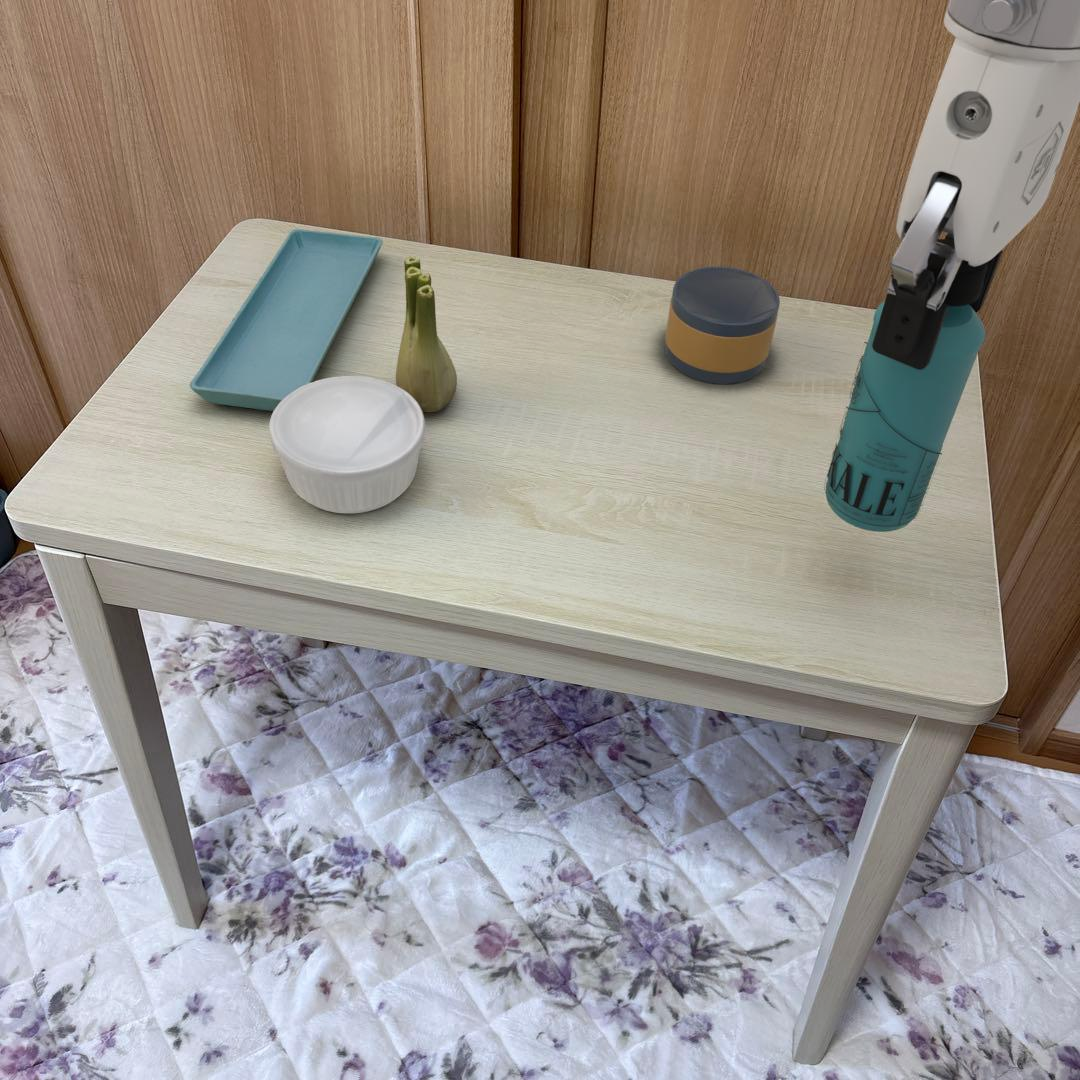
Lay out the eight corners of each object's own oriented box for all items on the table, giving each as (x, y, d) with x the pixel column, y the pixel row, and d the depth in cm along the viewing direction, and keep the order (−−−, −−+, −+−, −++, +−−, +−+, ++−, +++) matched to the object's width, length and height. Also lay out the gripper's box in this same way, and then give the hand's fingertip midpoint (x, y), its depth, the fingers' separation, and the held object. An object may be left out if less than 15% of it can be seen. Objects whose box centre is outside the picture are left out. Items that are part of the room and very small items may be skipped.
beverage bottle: (906, 489, 74) (1001, 225, 60) (921, 557, 69) (1028, 288, 55) (812, 481, 74) (884, 217, 60) (820, 548, 69) (901, 278, 55)
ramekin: (433, 520, 77) (430, 466, 74) (277, 532, 76) (266, 478, 72) (421, 423, 85) (418, 370, 81) (279, 432, 83) (270, 379, 80)
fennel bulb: (407, 375, 89) (398, 248, 81) (463, 382, 89) (461, 255, 80) (389, 418, 85) (379, 289, 77) (449, 425, 85) (445, 297, 76)
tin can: (735, 316, 98) (747, 258, 93) (786, 373, 92) (801, 314, 87) (646, 334, 95) (654, 275, 91) (692, 393, 89) (703, 333, 85)
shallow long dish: (294, 246, 103) (291, 223, 101) (385, 257, 102) (384, 234, 101) (192, 411, 85) (186, 387, 83) (302, 426, 84) (299, 401, 82)
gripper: (1050, 75, 42) (924, 429, 54) (1177, -29, 51) (1045, 292, 64) (876, 29, 45) (795, 373, 58) (1026, -61, 55) (929, 250, 67)
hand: (927, 328), depth 61 cm, fingers closed on beverage bottle, 6 cm apart
